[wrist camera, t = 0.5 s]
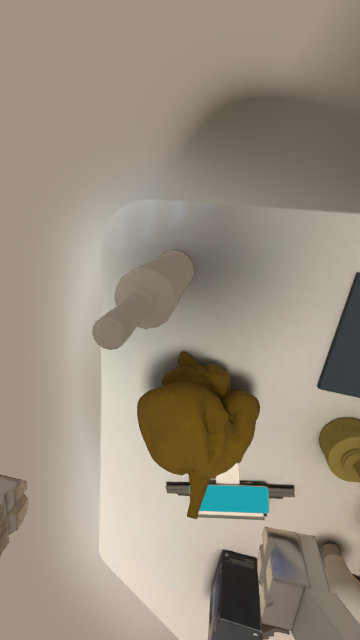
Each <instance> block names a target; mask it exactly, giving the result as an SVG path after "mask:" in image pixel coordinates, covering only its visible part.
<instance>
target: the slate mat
mask: <svg viewBox="0 0 360 640" xmlns="http://www.w3.org/2000/svg"><path fill="white" fill-rule="evenodd" d="M317 386H318V388H319V389H322V390H327V391H331V392H336V393H340V394H345V395H349V396H354V397H358V398H360V273H359V272H357V274H356V277H355V280H354V282H353V285H352V288H351V291H350V294H349V297H348V300H347V302H346V305H345V308H344V311H343V314H342V317H341V320H340V322H339V325H338V328H337V331H336V334H335V337H334V340H333V343H332V345H331V348H330V351H329V354H328V357H327V360H326V363H325V365H324V368H323V371H322V374H321V377H320V380H319V383H318V385H317Z"/></svg>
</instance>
